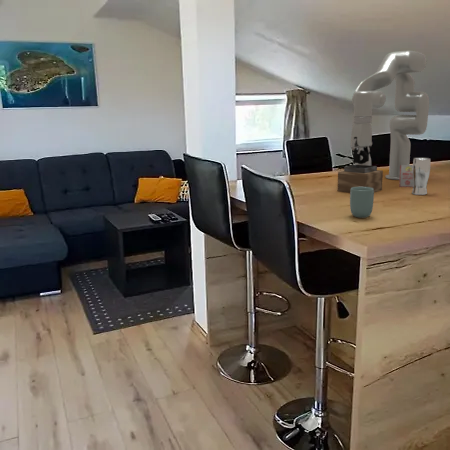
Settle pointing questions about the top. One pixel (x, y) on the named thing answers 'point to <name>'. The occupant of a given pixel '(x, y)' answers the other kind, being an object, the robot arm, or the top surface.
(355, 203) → the cup
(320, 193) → the top surface
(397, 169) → the robot arm
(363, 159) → the billiard ball
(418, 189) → the beer glass
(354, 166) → the housing
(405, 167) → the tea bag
